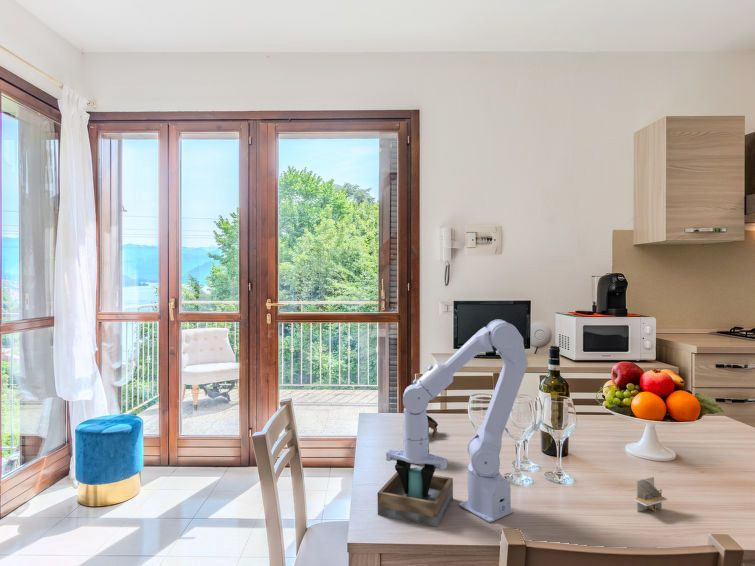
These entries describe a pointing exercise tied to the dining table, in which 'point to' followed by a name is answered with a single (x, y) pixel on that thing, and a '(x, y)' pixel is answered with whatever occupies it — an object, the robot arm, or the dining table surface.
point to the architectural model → (648, 495)
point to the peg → (415, 483)
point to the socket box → (416, 501)
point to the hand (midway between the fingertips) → (416, 494)
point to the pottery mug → (432, 425)
